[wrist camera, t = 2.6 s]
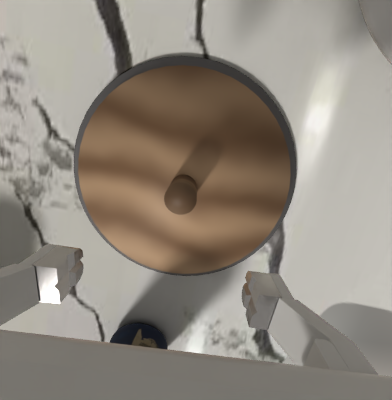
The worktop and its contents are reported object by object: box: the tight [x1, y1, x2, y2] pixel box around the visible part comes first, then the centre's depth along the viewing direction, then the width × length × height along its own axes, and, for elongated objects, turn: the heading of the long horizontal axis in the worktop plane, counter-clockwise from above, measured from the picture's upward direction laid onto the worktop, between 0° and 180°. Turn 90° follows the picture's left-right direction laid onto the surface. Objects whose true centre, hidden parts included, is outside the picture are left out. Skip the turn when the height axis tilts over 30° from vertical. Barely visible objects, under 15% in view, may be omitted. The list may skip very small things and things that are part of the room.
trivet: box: [74, 56, 296, 276], centre depth 24 cm, size 27×27×1 cm
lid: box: [78, 65, 291, 274], centre depth 22 cm, size 25×25×5 cm
